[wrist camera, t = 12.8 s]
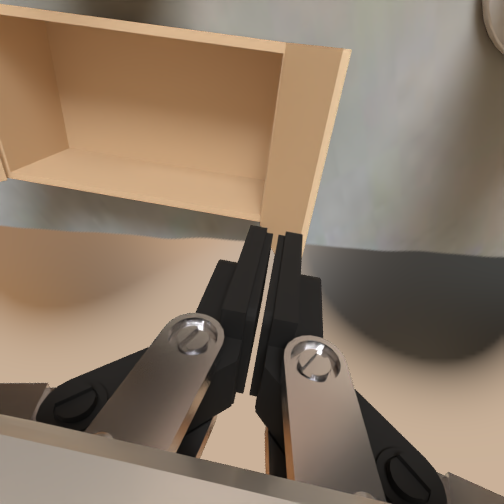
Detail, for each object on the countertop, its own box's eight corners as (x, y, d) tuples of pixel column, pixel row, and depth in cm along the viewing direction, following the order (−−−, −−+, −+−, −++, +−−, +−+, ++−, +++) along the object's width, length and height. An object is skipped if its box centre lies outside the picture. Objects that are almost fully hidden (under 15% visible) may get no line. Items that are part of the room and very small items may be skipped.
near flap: (289, 284, 21) (295, 284, 21) (343, 48, 14) (351, 49, 14) (259, 224, 27) (264, 224, 27) (286, 42, 20) (292, 43, 20)
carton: (298, 45, 28) (294, 43, 21) (275, 187, 35) (265, 224, 28) (41, 10, 30) (-51, -4, 22) (69, 153, 37) (7, 179, 29)
